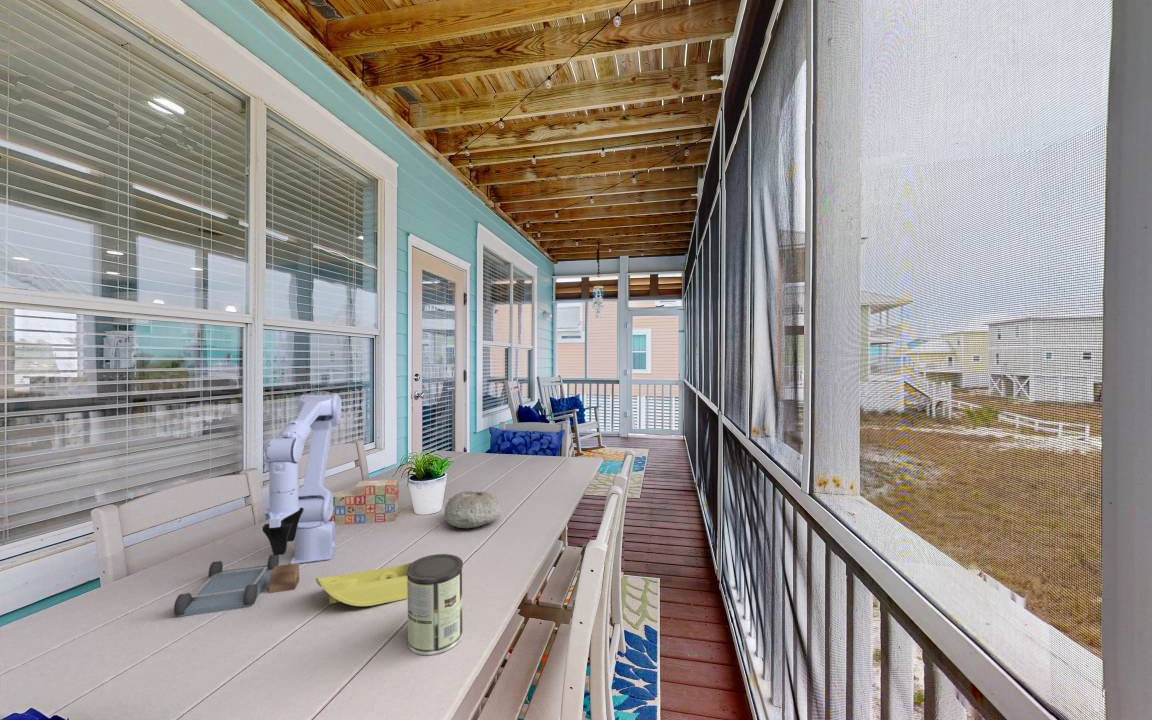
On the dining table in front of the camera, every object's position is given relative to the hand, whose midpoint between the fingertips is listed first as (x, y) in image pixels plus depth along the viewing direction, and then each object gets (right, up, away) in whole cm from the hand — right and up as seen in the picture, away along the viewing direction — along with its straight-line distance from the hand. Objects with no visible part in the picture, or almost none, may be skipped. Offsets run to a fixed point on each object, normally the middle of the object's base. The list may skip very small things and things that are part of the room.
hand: (284, 547), depth 105 cm
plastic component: (+21, -10, -3) cm, 23 cm away
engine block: (0, -9, 0) cm, 10 cm away
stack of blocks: (-2, -9, +43) cm, 44 cm away
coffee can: (+41, -10, -19) cm, 46 cm away
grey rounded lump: (+35, -9, +39) cm, 54 cm away
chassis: (-11, -9, -2) cm, 15 cm away
